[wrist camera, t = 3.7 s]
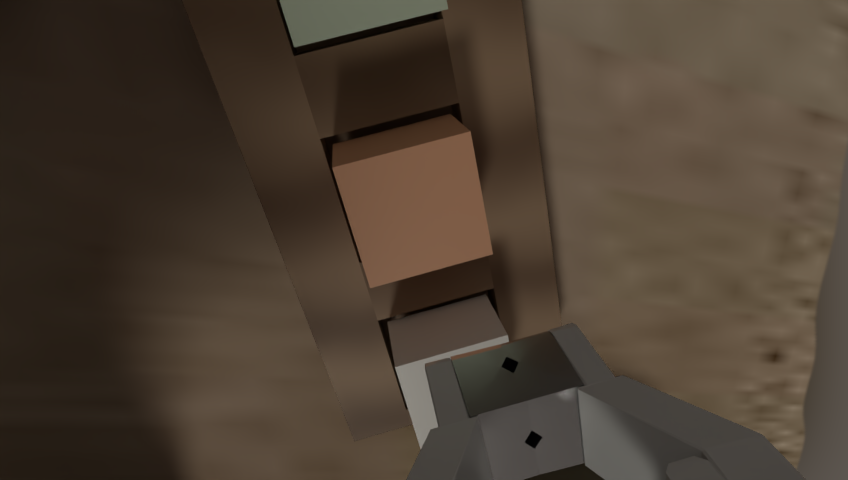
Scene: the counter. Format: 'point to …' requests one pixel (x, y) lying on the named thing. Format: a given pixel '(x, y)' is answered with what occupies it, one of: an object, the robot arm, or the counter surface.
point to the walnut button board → (371, 113)
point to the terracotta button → (413, 198)
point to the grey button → (438, 349)
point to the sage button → (348, 16)
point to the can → (569, 474)
